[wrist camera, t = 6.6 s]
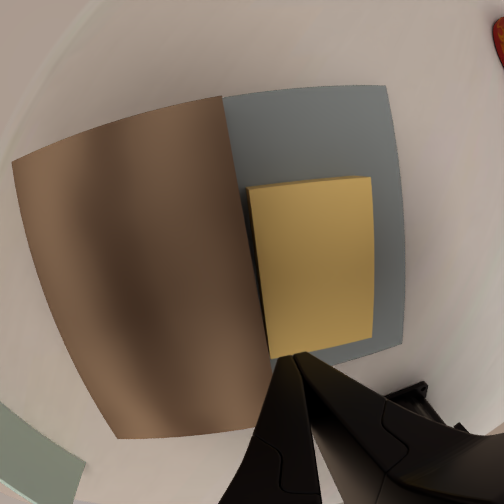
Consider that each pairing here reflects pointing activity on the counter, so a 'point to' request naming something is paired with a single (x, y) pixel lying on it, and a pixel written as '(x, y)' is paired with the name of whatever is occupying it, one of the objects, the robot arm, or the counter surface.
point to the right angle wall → (36, 463)
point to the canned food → (499, 38)
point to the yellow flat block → (314, 262)
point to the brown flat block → (151, 270)
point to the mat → (326, 166)
